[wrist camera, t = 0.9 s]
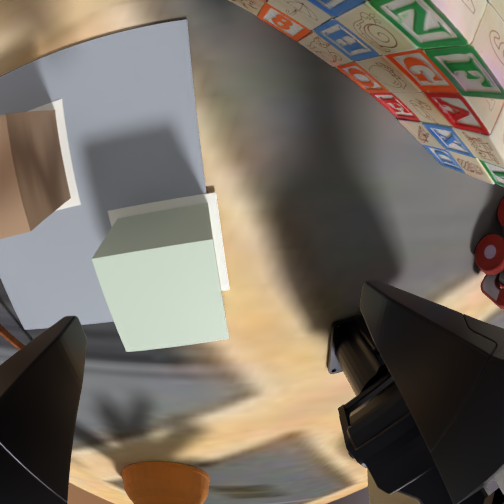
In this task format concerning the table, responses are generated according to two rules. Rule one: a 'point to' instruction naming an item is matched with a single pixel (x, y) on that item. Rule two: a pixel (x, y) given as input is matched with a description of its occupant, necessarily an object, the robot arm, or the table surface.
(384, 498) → the plant pot
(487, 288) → the toy fire truck
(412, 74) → the stack of blocks
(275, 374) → the table surface
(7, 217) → the walnut block
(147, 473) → the decorative plant
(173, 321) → the sage block
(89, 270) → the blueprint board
